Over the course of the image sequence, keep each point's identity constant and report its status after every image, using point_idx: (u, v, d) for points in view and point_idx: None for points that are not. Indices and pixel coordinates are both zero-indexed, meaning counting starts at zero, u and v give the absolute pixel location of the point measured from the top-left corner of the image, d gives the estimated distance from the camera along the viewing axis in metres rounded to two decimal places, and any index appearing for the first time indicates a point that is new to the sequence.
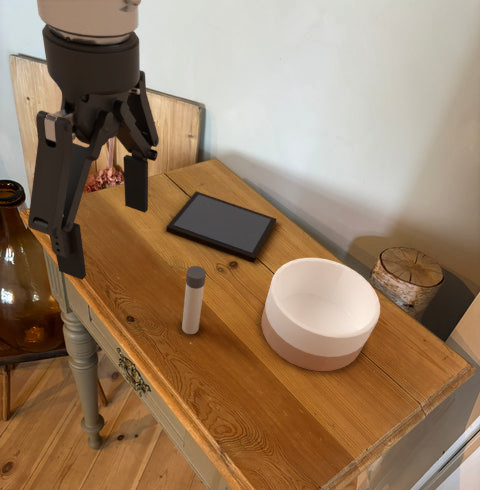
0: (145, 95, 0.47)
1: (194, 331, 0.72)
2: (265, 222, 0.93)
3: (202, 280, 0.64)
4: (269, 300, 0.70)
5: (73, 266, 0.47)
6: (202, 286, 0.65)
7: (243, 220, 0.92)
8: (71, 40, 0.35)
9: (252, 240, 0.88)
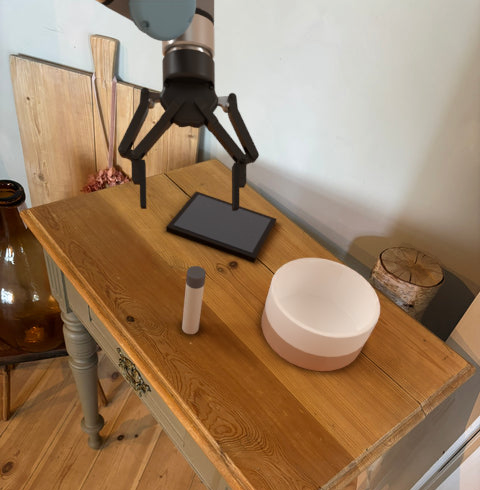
0: None
1: (194, 331, 0.72)
2: (265, 222, 0.93)
3: (202, 280, 0.64)
4: (269, 300, 0.70)
5: None
6: (202, 286, 0.65)
7: (243, 220, 0.92)
8: None
9: (252, 240, 0.88)
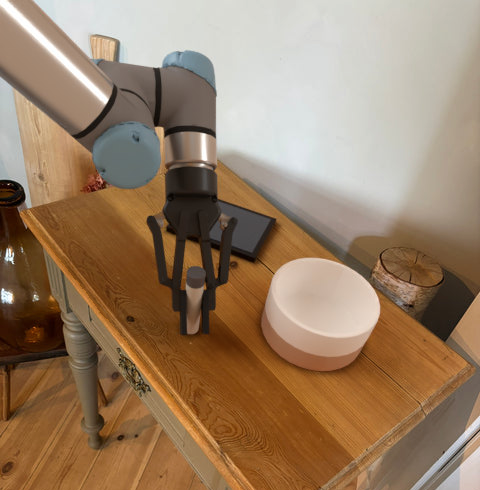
0: None
1: (194, 331, 0.72)
2: (265, 222, 0.93)
3: (202, 280, 0.64)
4: (269, 300, 0.70)
5: None
6: (202, 286, 0.65)
7: (243, 220, 0.92)
8: None
9: (252, 240, 0.88)
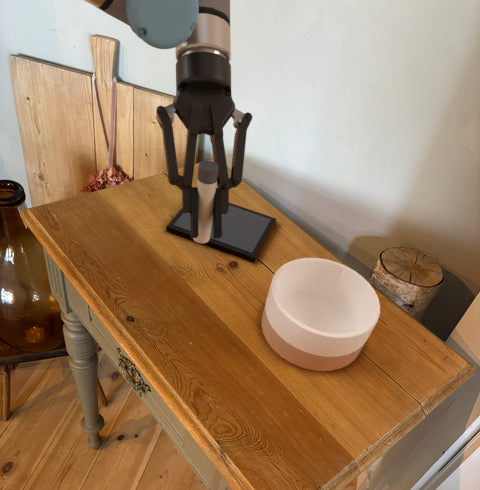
0: None
1: (205, 240, 0.68)
2: (265, 222, 0.93)
3: (215, 174, 0.60)
4: (269, 300, 0.70)
5: None
6: (215, 182, 0.61)
7: (243, 220, 0.92)
8: None
9: (252, 240, 0.88)
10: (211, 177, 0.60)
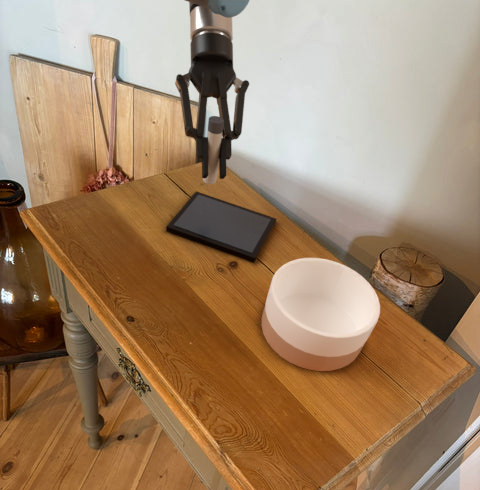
0: None
1: (213, 181, 0.87)
2: (265, 222, 0.93)
3: (221, 126, 0.80)
4: (269, 300, 0.70)
5: None
6: (221, 132, 0.81)
7: (243, 220, 0.92)
8: None
9: (252, 240, 0.88)
10: (218, 128, 0.80)
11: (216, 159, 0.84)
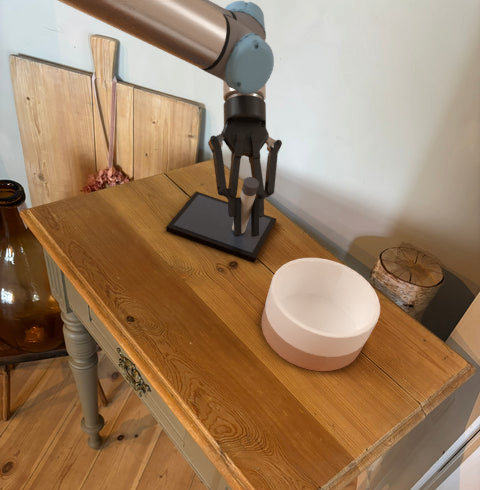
0: None
1: (242, 231, 0.88)
2: (265, 222, 0.93)
3: (256, 189, 0.79)
4: (269, 300, 0.70)
5: None
6: (255, 194, 0.80)
7: None
8: None
9: (252, 240, 0.88)
10: (253, 191, 0.79)
11: (248, 215, 0.84)
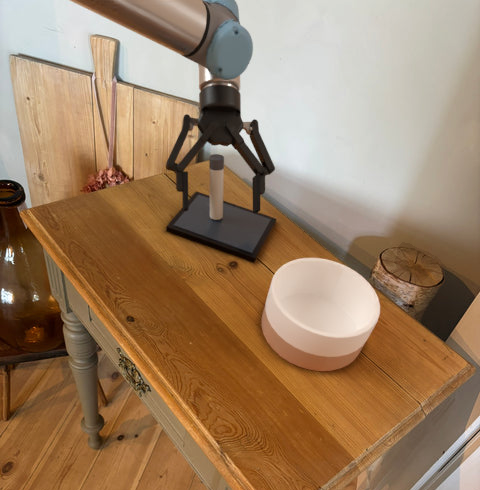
0: None
1: (219, 216, 0.90)
2: (265, 222, 0.93)
3: (221, 162, 0.83)
4: (269, 300, 0.70)
5: None
6: (222, 169, 0.84)
7: (243, 220, 0.92)
8: None
9: (252, 240, 0.88)
10: (219, 165, 0.83)
11: (220, 195, 0.87)
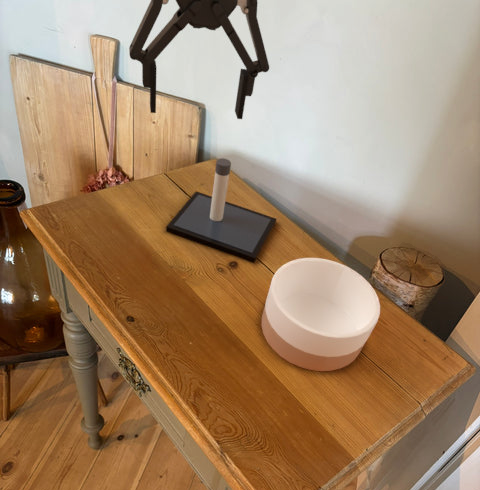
0: None
1: (219, 218, 0.90)
2: (265, 222, 0.93)
3: (228, 168, 0.82)
4: (269, 300, 0.70)
5: None
6: (228, 174, 0.83)
7: (243, 220, 0.92)
8: None
9: (252, 240, 0.88)
10: (225, 170, 0.82)
11: (223, 198, 0.87)
